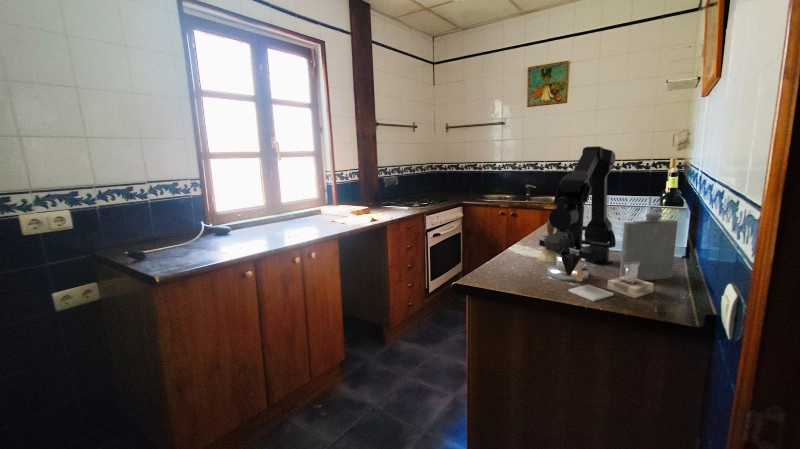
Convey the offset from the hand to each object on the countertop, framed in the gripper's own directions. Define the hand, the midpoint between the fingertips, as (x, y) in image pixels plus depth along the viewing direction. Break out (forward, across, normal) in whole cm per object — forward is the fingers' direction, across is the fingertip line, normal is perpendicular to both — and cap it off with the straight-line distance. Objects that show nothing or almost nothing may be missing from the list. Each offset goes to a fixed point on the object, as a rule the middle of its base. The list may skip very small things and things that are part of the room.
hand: (568, 274), depth 107 cm
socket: (+4, +10, +13) cm, 17 cm away
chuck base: (+4, -8, +9) cm, 13 cm away
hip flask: (+4, +6, +27) cm, 28 cm away
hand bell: (+5, -23, +17) cm, 29 cm away
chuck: (+2, -4, +6) cm, 7 cm away
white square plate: (+4, +6, +2) cm, 7 cm away
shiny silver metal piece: (+4, +10, +13) cm, 17 cm away
